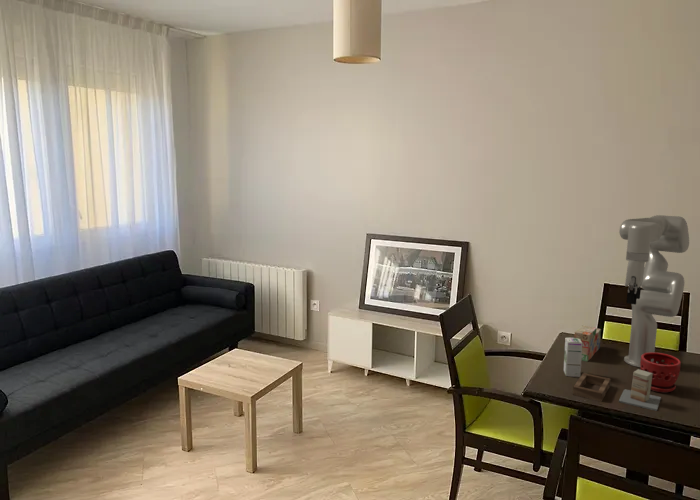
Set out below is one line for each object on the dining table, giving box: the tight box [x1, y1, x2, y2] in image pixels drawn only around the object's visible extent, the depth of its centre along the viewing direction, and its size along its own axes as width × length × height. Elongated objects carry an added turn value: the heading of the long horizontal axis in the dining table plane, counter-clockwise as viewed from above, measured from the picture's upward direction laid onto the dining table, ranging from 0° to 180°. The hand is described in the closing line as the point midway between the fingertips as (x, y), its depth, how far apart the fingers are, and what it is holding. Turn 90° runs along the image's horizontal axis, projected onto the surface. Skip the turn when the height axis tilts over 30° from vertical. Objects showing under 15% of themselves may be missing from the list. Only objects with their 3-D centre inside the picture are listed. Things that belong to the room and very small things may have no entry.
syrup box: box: [563, 337, 582, 378], centre depth 218 cm, size 6×6×14 cm
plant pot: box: [639, 351, 682, 393], centre depth 206 cm, size 13×13×12 cm
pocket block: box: [572, 372, 612, 402], centre depth 204 cm, size 16×10×3 cm, turn 145°
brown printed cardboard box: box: [573, 324, 602, 362], centre depth 242 cm, size 21×6×12 cm, turn 143°
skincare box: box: [630, 368, 652, 402], centre depth 195 cm, size 5×4×10 cm
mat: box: [618, 388, 662, 412], centre depth 196 cm, size 12×12×1 cm
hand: (633, 301), depth 207 cm, fingers open, 9 cm apart
